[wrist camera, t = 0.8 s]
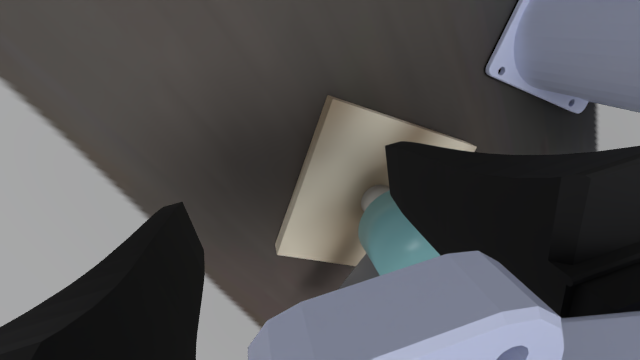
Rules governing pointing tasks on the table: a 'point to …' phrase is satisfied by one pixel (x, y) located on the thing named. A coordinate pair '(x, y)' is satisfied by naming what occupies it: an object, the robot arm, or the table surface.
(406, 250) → the teal grey handled piece
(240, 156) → the table surface
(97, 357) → the robot arm
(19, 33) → the table surface
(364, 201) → the post block
